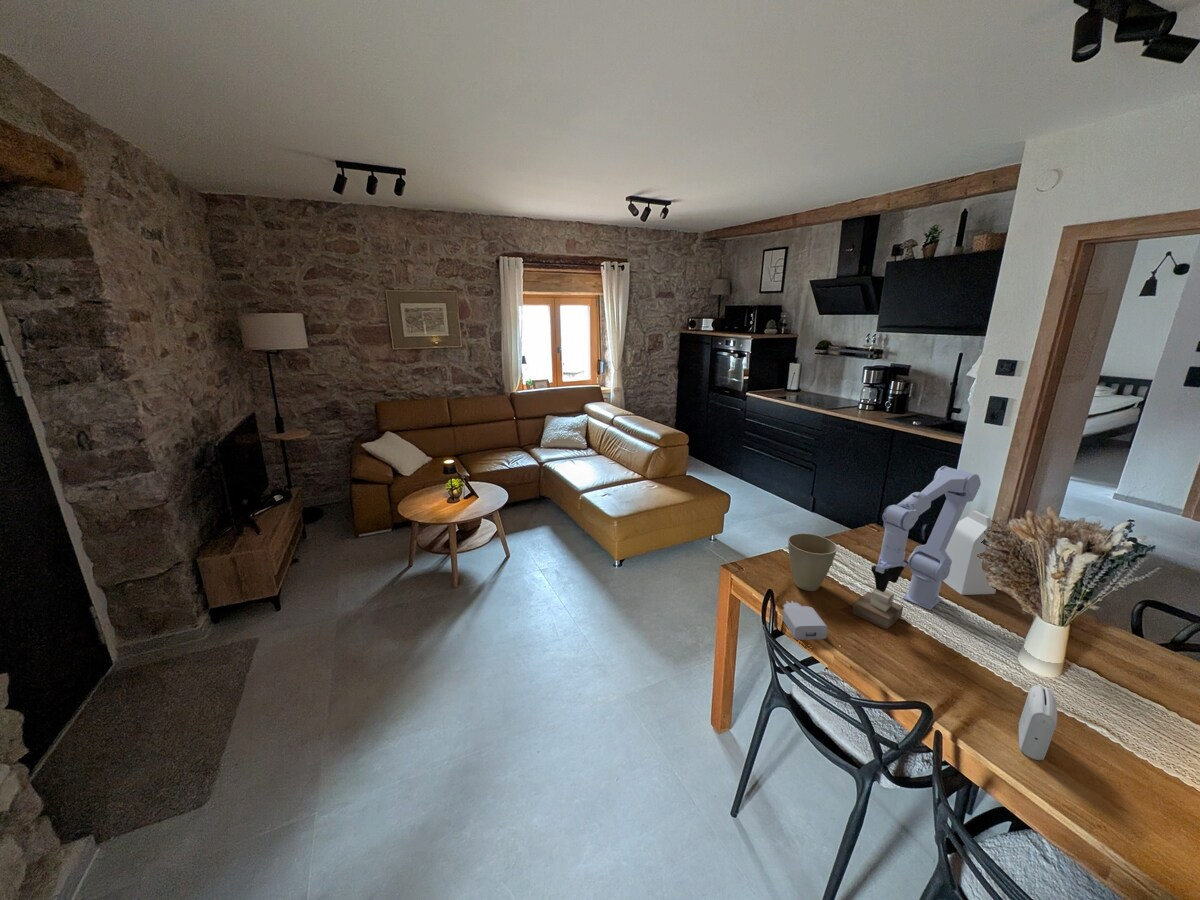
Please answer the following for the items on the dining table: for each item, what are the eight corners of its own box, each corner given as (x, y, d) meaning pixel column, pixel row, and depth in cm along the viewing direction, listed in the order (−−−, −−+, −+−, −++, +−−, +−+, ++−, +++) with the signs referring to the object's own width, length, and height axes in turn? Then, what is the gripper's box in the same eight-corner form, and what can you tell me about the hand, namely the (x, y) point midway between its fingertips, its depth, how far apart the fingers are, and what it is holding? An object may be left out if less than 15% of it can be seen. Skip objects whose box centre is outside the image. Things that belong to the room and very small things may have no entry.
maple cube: (876, 598, 144) (878, 586, 142) (891, 605, 140) (894, 593, 139) (869, 604, 141) (872, 591, 140) (885, 611, 138) (888, 598, 136)
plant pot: (840, 595, 152) (847, 552, 147) (798, 599, 150) (804, 555, 145) (814, 571, 166) (819, 531, 161) (775, 575, 164) (779, 534, 159)
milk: (934, 574, 163) (949, 507, 156) (966, 574, 163) (982, 506, 156) (961, 594, 151) (978, 522, 144) (995, 593, 152) (1014, 521, 145)
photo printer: (1045, 765, 95) (1062, 717, 91) (1017, 753, 97) (1032, 706, 94) (1042, 731, 102) (1057, 686, 99) (1017, 721, 105) (1030, 676, 101)
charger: (802, 607, 146) (826, 639, 132) (773, 608, 146) (794, 640, 132) (804, 594, 145) (828, 625, 130) (775, 595, 145) (795, 626, 130)
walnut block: (867, 602, 149) (868, 591, 148) (901, 617, 141) (903, 606, 140) (851, 613, 143) (853, 602, 142) (886, 630, 135) (888, 619, 134)
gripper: (897, 558, 128) (889, 600, 131) (919, 543, 136) (911, 583, 140) (871, 548, 133) (864, 589, 137) (893, 534, 141) (886, 573, 145)
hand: (886, 585), depth 139 cm, fingers open, 7 cm apart
